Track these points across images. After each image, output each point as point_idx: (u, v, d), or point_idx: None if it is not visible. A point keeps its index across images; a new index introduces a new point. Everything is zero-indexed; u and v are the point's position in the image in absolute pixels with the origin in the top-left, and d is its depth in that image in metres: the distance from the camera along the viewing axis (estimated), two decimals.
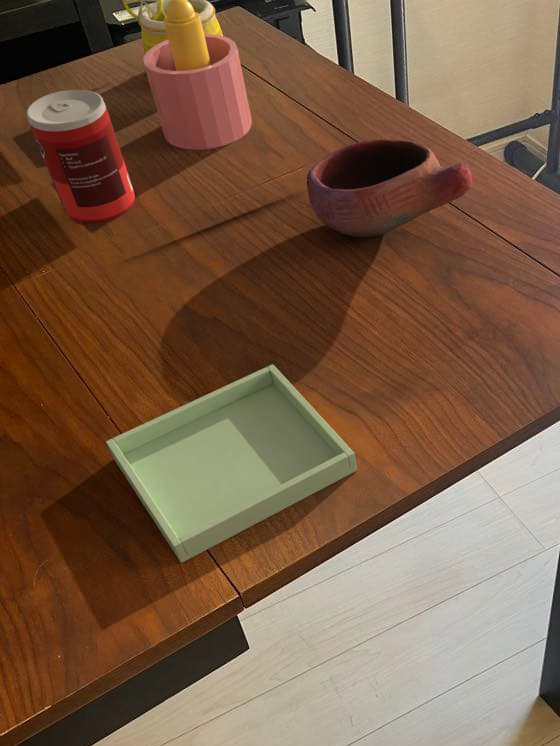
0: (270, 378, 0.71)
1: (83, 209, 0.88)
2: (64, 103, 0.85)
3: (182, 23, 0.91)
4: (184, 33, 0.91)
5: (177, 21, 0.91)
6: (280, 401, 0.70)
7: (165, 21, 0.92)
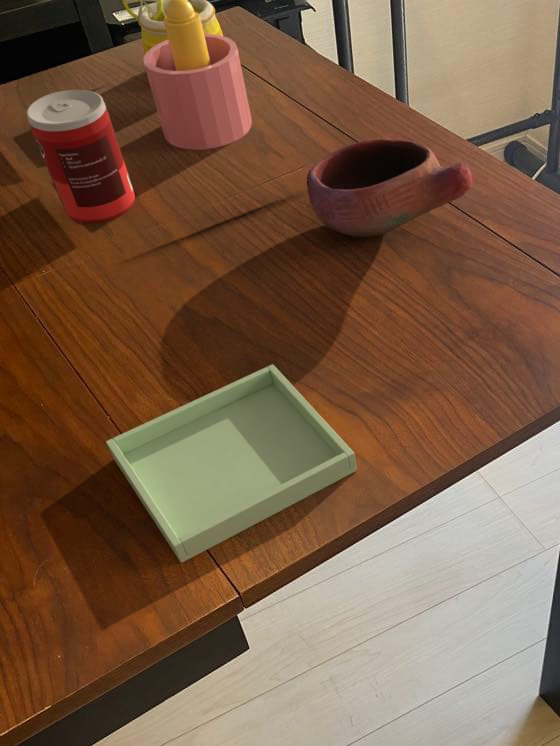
0: (270, 378, 0.71)
1: (83, 209, 0.88)
2: (64, 103, 0.85)
3: (182, 23, 0.91)
4: (184, 33, 0.91)
5: (177, 21, 0.91)
6: (280, 401, 0.70)
7: (165, 21, 0.92)
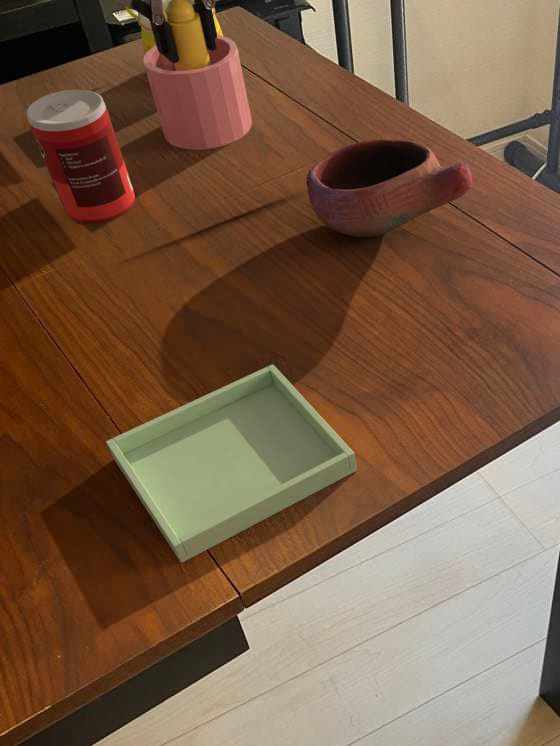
0: (270, 378, 0.71)
1: (83, 209, 0.88)
2: (64, 103, 0.85)
3: (182, 23, 0.91)
4: (184, 33, 0.91)
5: (177, 21, 0.91)
6: (280, 401, 0.70)
7: None
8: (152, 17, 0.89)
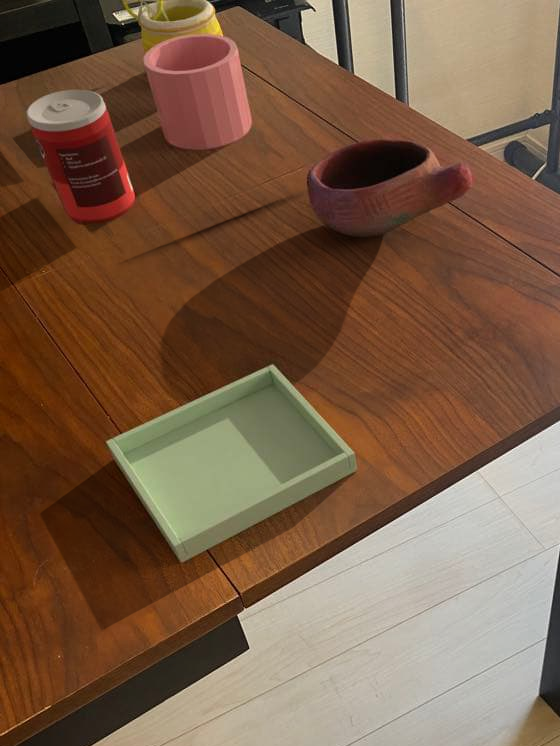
0: (270, 378, 0.71)
1: (83, 209, 0.88)
2: (64, 103, 0.85)
3: None
4: None
5: None
6: (280, 401, 0.70)
7: None
8: None
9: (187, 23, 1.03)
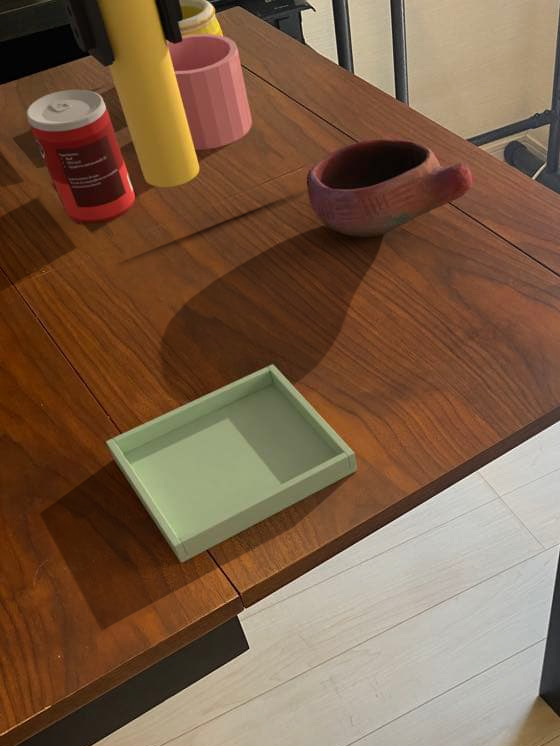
0: (270, 378, 0.71)
1: (83, 209, 0.88)
2: (64, 103, 0.85)
3: None
4: (122, 12, 0.51)
5: None
6: (280, 401, 0.70)
7: None
8: None
9: (187, 23, 1.03)
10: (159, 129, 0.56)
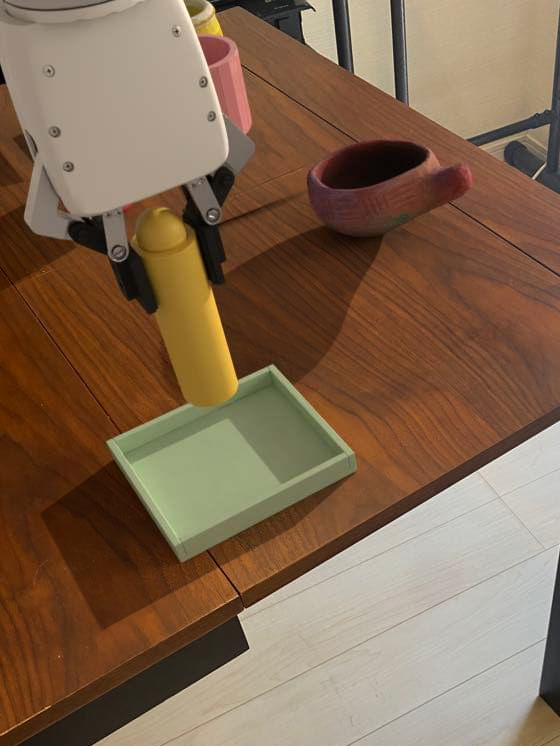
0: (270, 378, 0.71)
1: None
2: None
3: (163, 253, 0.50)
4: (167, 269, 0.51)
5: (154, 250, 0.50)
6: (280, 401, 0.70)
7: (133, 246, 0.51)
8: (107, 250, 0.48)
9: None
10: (199, 361, 0.56)
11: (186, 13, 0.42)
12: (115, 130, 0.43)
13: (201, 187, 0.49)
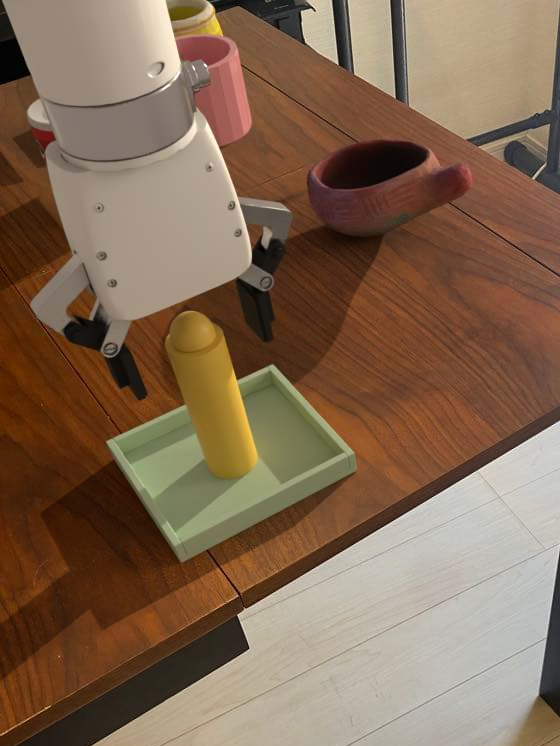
0: (270, 378, 0.71)
1: None
2: None
3: (194, 353, 0.56)
4: (198, 367, 0.56)
5: (187, 350, 0.56)
6: (280, 401, 0.70)
7: (168, 346, 0.57)
8: (100, 348, 0.52)
9: (187, 23, 1.03)
10: (224, 441, 0.62)
11: (218, 151, 0.48)
12: (154, 251, 0.49)
13: (246, 269, 0.54)
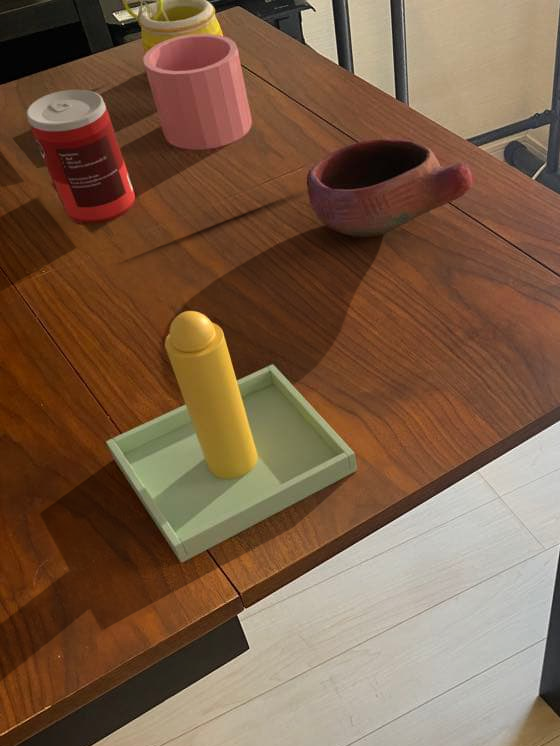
0: (270, 378, 0.71)
1: (83, 209, 0.88)
2: (64, 103, 0.85)
3: (194, 353, 0.56)
4: (198, 367, 0.56)
5: (187, 350, 0.56)
6: (280, 401, 0.70)
7: (168, 346, 0.57)
8: None
9: (187, 23, 1.03)
10: (224, 441, 0.62)
11: None
12: None
13: None
